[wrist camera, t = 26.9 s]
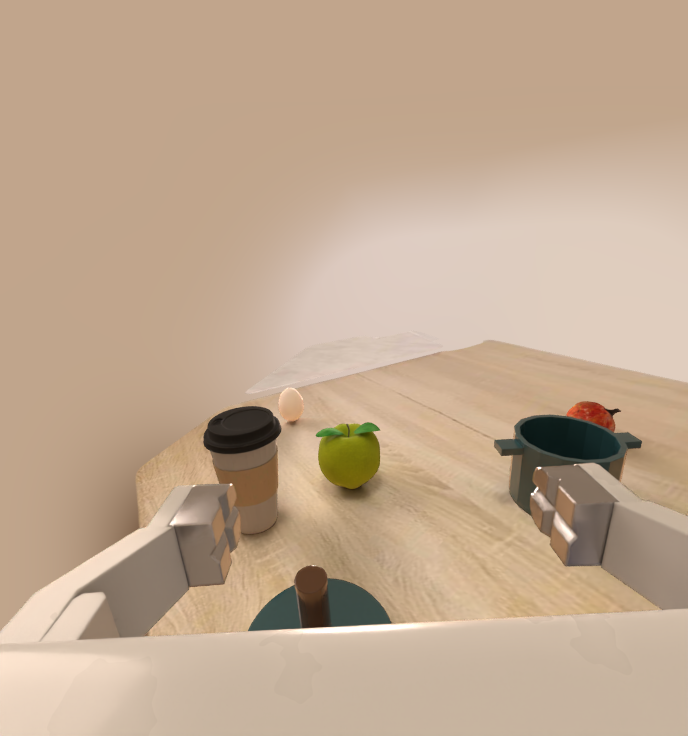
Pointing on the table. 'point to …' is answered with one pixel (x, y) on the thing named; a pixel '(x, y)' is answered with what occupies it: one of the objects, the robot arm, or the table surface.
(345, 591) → the lid
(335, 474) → the fruit
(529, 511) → the pot
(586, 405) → the pomegranate
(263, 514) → the coffee cup
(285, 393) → the egg
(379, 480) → the table surface
